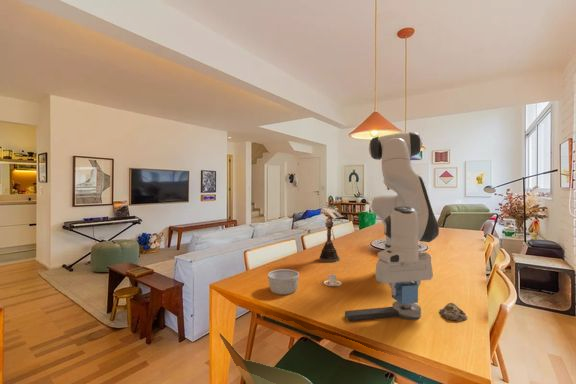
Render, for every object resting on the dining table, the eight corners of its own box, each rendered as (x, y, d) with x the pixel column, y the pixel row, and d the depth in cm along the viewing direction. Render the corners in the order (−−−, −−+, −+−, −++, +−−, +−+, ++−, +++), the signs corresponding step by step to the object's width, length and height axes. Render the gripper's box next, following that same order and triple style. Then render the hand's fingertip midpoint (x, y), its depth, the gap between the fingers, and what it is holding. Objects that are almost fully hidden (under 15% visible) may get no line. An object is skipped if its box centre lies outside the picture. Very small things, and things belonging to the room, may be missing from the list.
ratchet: (352, 326, 86) (352, 305, 86) (342, 313, 95) (342, 294, 95) (426, 318, 90) (427, 299, 90) (410, 306, 99) (410, 289, 99)
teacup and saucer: (336, 289, 118) (336, 279, 118) (320, 285, 122) (320, 276, 122) (344, 282, 125) (344, 274, 125) (328, 279, 129) (328, 271, 129)
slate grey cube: (406, 295, 98) (406, 279, 98) (417, 302, 92) (418, 285, 92) (391, 297, 97) (391, 280, 97) (402, 304, 91) (402, 286, 91)
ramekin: (275, 298, 108) (275, 281, 107) (263, 287, 119) (263, 271, 119) (304, 292, 114) (304, 275, 114) (290, 282, 125) (289, 267, 125)
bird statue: (351, 260, 162) (351, 201, 161) (340, 264, 152) (340, 202, 151) (327, 255, 173) (327, 200, 172) (315, 259, 163) (315, 201, 162)
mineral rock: (469, 318, 86) (441, 305, 90) (465, 330, 87) (437, 317, 91) (468, 306, 95) (443, 295, 99) (464, 317, 96) (439, 306, 100)
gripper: (424, 250, 100) (424, 288, 100) (373, 253, 95) (373, 292, 96) (437, 254, 93) (437, 294, 94) (383, 258, 89) (383, 300, 90)
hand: (404, 293), depth 95 cm, fingers closed on slate grey cube, 6 cm apart
